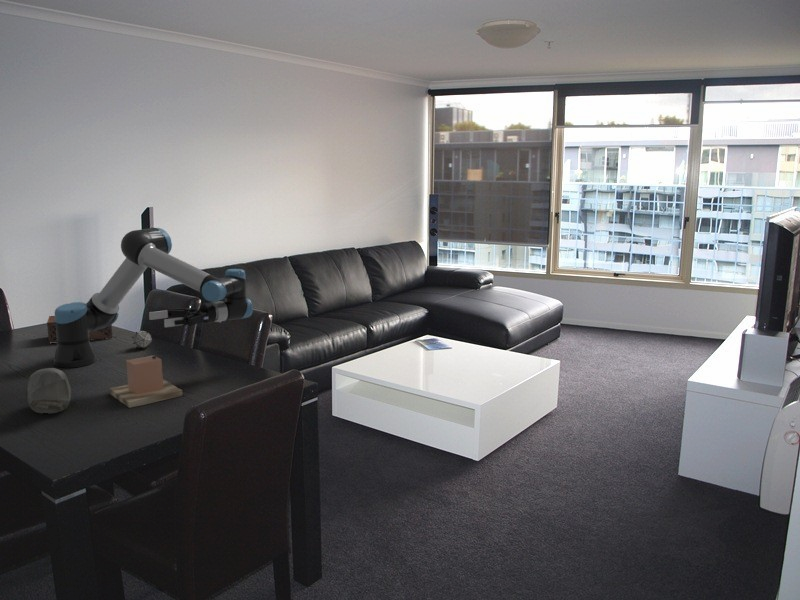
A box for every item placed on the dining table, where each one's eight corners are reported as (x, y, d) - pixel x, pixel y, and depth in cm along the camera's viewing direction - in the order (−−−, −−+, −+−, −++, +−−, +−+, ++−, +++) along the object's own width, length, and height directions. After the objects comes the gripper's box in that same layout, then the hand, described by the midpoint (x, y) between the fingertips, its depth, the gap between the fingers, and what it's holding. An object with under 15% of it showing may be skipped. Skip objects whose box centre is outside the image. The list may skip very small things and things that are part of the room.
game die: (148, 356, 286) (161, 338, 284) (132, 353, 278) (145, 335, 277) (140, 342, 290) (152, 325, 288) (123, 340, 283) (136, 322, 281)
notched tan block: (128, 389, 224) (126, 358, 222) (155, 384, 230) (153, 353, 228) (135, 394, 219) (133, 362, 217) (163, 388, 226) (161, 357, 223)
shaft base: (110, 393, 226) (107, 367, 224) (161, 383, 238) (159, 357, 236) (129, 408, 213) (127, 380, 211) (182, 395, 225) (180, 369, 223)
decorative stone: (72, 398, 222) (68, 355, 219) (72, 415, 206) (67, 369, 203) (32, 403, 216) (27, 359, 213) (28, 421, 201) (23, 374, 198)
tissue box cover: (49, 344, 289) (47, 322, 288) (51, 337, 302) (49, 316, 300) (112, 339, 300) (110, 317, 298) (112, 332, 313) (110, 311, 311)
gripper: (228, 328, 239) (171, 337, 225) (198, 316, 257) (144, 323, 243) (228, 308, 237) (170, 316, 223) (198, 297, 255) (143, 303, 241)
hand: (156, 319), depth 233 cm, fingers open, 13 cm apart
